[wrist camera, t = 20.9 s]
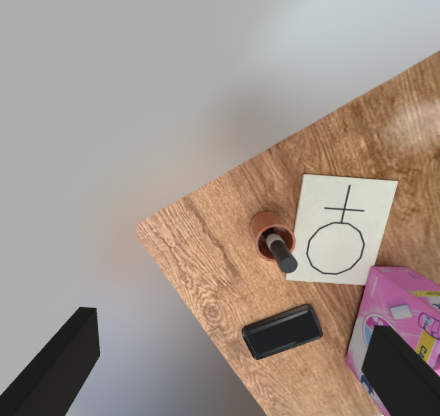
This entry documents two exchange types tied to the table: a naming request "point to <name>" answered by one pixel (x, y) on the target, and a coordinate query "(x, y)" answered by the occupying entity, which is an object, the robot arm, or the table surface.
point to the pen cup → (265, 222)
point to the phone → (282, 332)
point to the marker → (280, 251)
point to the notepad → (339, 227)
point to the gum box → (397, 318)
